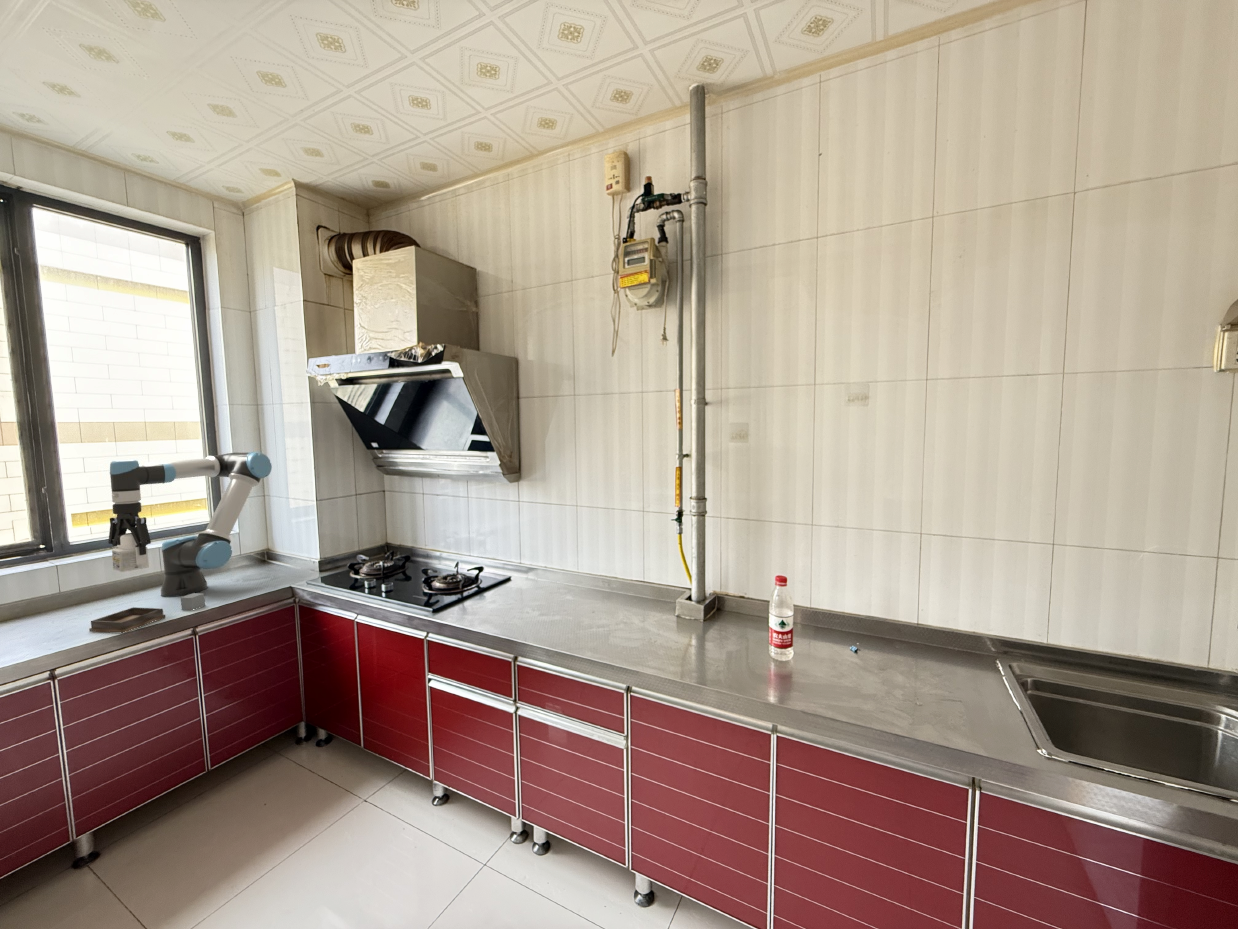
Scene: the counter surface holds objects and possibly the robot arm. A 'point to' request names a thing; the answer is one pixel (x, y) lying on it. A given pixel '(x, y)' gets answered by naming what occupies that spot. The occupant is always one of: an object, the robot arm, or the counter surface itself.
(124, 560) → the container
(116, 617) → the tray
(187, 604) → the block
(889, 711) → the counter surface
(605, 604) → the counter surface
